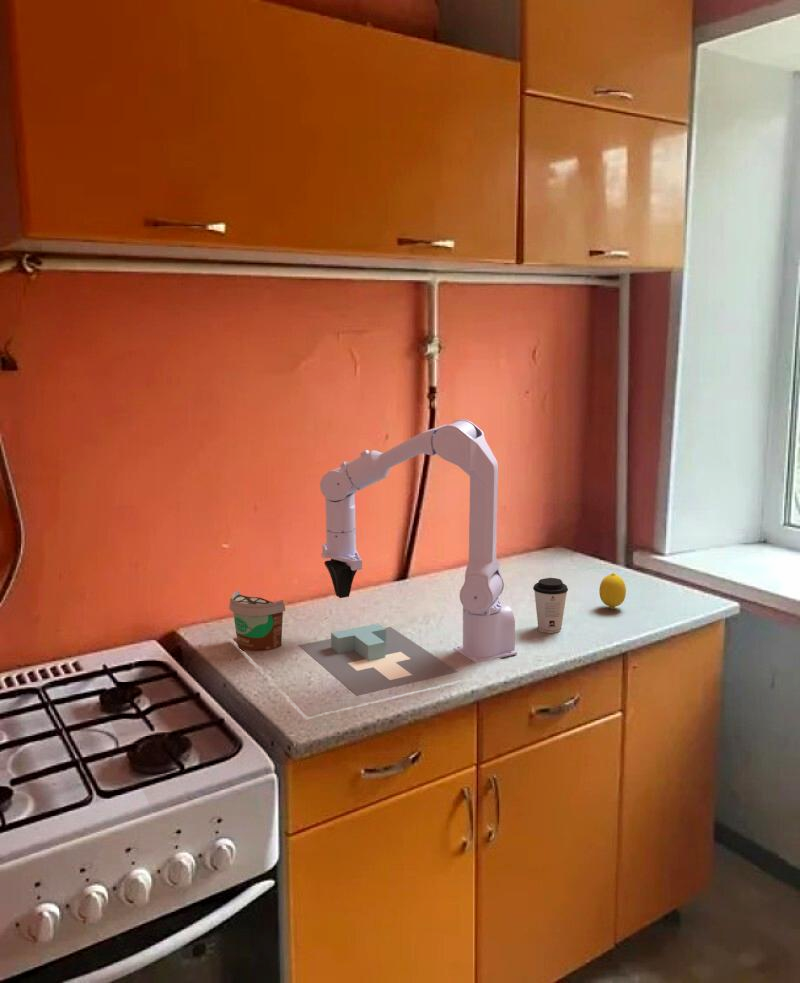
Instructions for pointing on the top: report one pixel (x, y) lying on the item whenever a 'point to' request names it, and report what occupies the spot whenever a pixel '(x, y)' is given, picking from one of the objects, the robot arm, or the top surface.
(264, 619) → the food container
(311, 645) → the mat
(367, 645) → the t block
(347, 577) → the robot arm
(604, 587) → the lemon
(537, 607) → the coffee cup
